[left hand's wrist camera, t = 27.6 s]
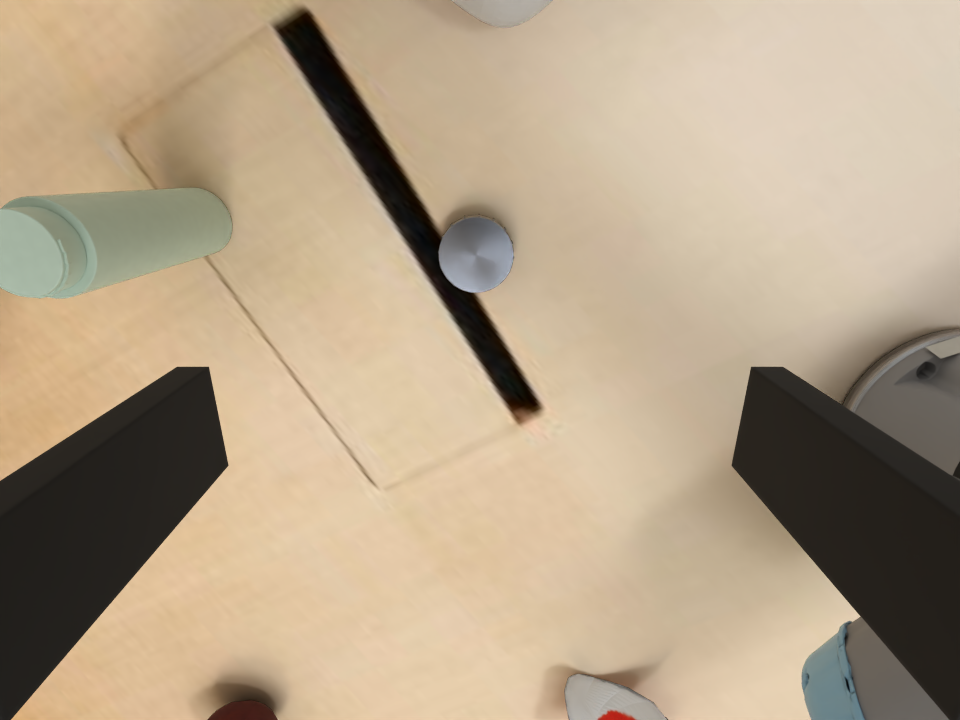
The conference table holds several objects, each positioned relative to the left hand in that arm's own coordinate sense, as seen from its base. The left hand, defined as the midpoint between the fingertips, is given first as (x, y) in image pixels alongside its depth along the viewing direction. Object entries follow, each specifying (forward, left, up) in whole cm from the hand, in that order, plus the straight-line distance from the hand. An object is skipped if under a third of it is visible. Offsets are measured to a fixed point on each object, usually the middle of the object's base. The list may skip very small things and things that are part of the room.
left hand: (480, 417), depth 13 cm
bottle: (+20, 0, -26) cm, 33 cm away
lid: (0, 0, -24) cm, 24 cm away
